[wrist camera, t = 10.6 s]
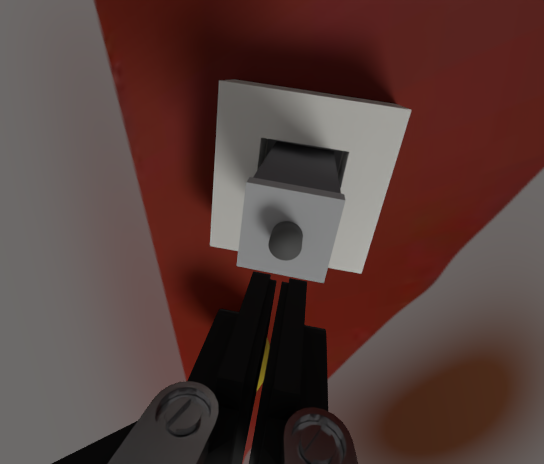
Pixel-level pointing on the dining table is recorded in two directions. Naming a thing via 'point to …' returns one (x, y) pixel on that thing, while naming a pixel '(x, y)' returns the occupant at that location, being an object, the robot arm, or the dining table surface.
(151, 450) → the robot arm
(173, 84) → the dining table surface
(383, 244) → the dining table surface
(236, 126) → the socket
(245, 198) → the plug
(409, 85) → the dining table surface
